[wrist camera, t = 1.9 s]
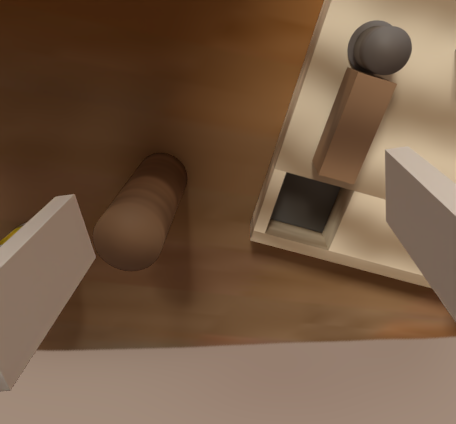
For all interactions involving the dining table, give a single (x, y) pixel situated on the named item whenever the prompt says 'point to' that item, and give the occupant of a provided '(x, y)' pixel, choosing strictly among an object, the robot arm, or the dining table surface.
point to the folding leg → (361, 102)
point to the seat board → (384, 139)
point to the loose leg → (141, 214)
